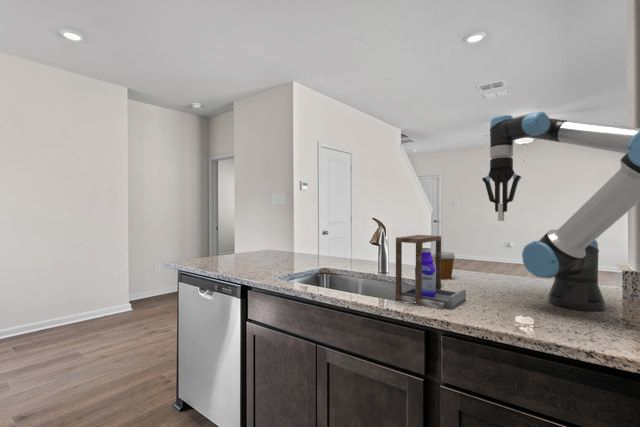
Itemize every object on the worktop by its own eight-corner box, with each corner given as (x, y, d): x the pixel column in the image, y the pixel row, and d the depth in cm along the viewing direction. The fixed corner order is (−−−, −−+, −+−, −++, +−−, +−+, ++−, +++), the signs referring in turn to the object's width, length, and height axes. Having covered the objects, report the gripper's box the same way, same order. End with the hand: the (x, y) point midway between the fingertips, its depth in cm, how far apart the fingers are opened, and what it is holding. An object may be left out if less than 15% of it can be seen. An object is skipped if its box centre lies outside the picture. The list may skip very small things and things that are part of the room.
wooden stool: (461, 298, 119) (461, 237, 119) (441, 309, 105) (442, 240, 104) (418, 290, 130) (418, 234, 130) (395, 300, 115) (395, 237, 115)
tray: (465, 300, 115) (465, 289, 115) (451, 309, 105) (451, 297, 105) (417, 292, 127) (417, 282, 127) (401, 299, 117) (401, 288, 117)
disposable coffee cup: (456, 280, 149) (457, 254, 149) (435, 280, 151) (435, 254, 151) (452, 276, 158) (452, 252, 158) (432, 276, 160) (432, 251, 160)
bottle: (414, 296, 117) (414, 248, 117) (415, 293, 122) (415, 247, 122) (435, 298, 114) (435, 249, 114) (436, 295, 119) (436, 247, 119)
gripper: (523, 157, 121) (523, 220, 121) (485, 161, 129) (485, 220, 129) (519, 154, 115) (519, 221, 115) (479, 158, 124) (479, 220, 124)
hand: (501, 220), depth 122 cm, fingers closed
